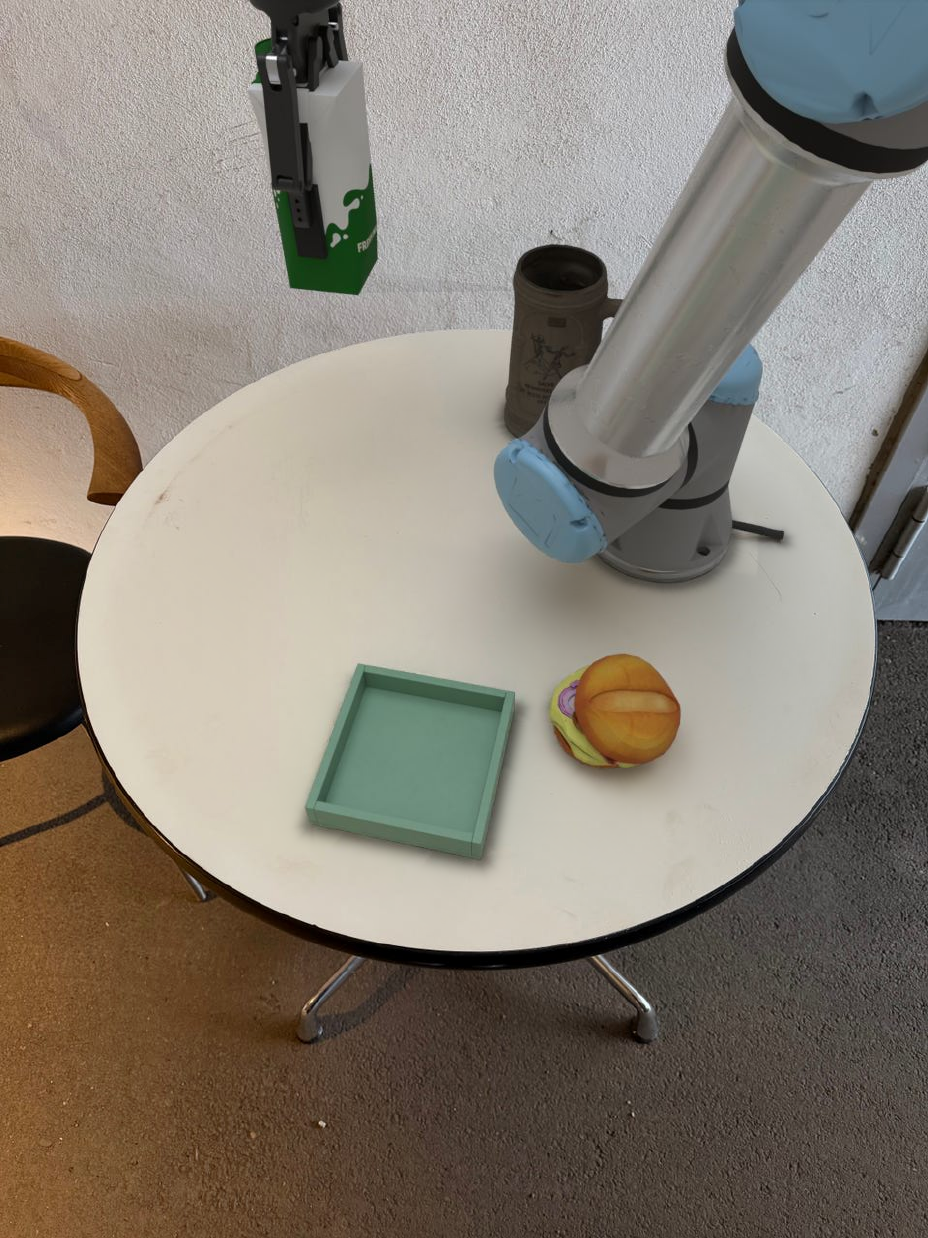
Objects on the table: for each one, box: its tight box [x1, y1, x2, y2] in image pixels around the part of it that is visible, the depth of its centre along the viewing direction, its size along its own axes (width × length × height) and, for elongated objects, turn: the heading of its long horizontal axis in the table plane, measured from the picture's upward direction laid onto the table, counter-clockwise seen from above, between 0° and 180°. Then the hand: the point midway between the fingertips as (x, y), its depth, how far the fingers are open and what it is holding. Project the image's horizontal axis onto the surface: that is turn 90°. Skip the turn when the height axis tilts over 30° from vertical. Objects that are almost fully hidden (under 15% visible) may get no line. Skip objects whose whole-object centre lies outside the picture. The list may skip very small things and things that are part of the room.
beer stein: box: [503, 243, 624, 438], centre depth 96 cm, size 15×11×20 cm
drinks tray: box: [304, 662, 516, 860], centre depth 74 cm, size 15×15×3 cm
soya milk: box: [246, 37, 379, 296], centre depth 78 cm, size 9×9×20 cm
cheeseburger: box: [548, 653, 682, 770], centre depth 74 cm, size 10×11×10 cm
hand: (329, 230), depth 83 cm, fingers closed on soya milk, 9 cm apart
